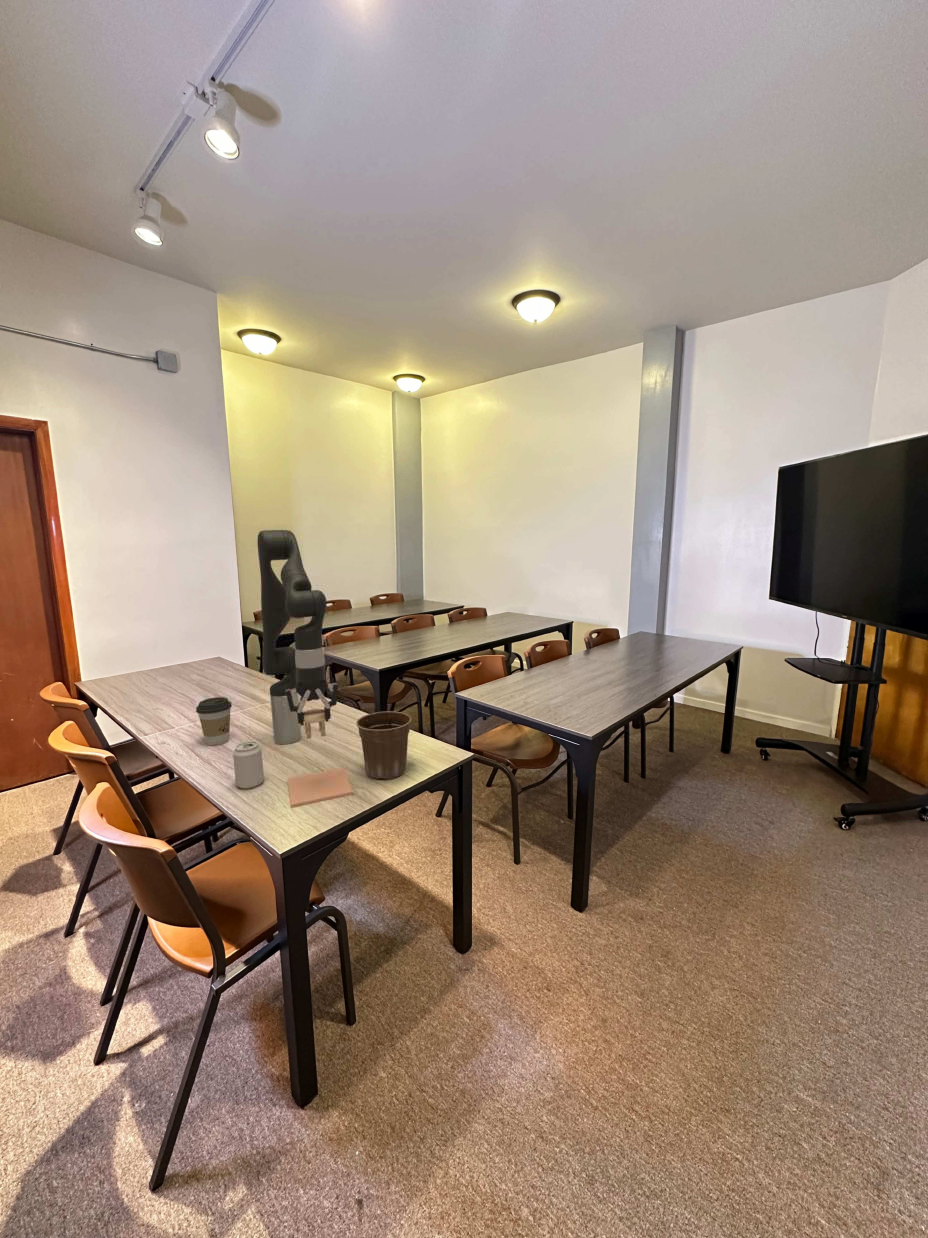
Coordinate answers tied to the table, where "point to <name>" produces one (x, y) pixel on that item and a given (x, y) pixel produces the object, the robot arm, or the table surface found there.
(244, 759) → the can
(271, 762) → the table surface
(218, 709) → the coffee cup
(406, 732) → the plant pot
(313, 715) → the stool
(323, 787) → the mat
